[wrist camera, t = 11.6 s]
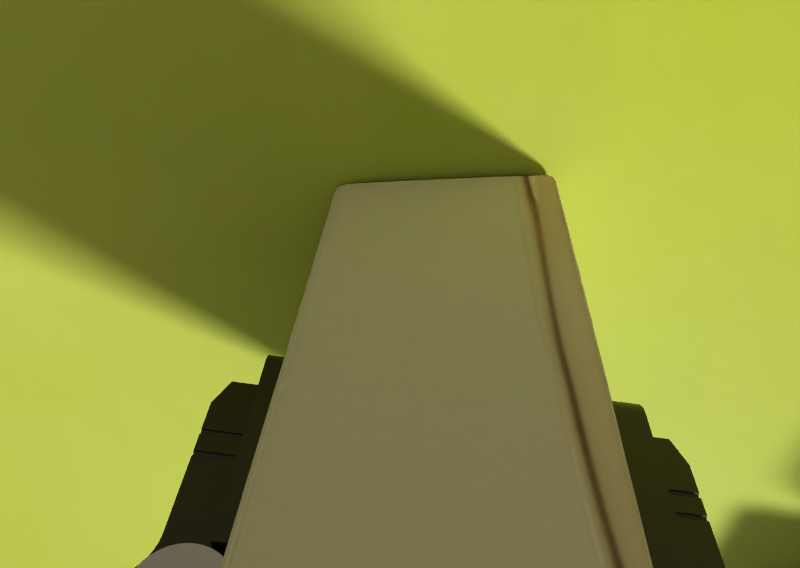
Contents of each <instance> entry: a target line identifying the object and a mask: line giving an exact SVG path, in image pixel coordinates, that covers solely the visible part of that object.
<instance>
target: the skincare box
mask: <svg viewBox="0 0 800 568" xmlns="http://www.w3.org/2000/svg"><path fill="white" fill-rule="evenodd" d="M220 568H653V565H652V561H651V557H650V553H649V549H648V545H647V541H646V537H645V533H644V529H643V525H642V521H641V517H640V513H639V509H638V505H637V501H636V497H635V493H634V489H633V485H632V481H631V477H630V473H629V469H628V465H627V461H626V457H625V453H624V449H623V445H622V441H621V437H620V433H619V429H618V424H617V420H616V416H615V412H614V408H613V404H612V400H611V396H610V392H609V388H608V384H607V380H606V376H605V372H604V368H603V364H602V360H601V356H600V352H599V349H598V345H597V341H596V337H595V333H594V329H593V324H592V320H591V316H590V312H589V308H588V305H587V301H586V297H585V292H584V289H583V285H582V282H581V277H580V272H579V269H578V265H577V262H576V258H575V254H574V250H573V246H572V242H571V238H570V234H569V230H568V227H567V223H566V219H565V215H564V211H563V208H562V204H561V200H560V196H559V193H558V189H557V185H556V181H555V180H554V178H553V177H551V176H549V175H536V176H505V177H479V178H456V179H434V180H411V181H392V182H373V183H354V184H345V185H342V186H339V187H338V188H337V190H336V191H335V193H334V196H333V198H332V202H331V206H330V209H329V212H328V216H327V219H326V222H325V226H324V229H323V232H322V236H321V239H320V242H319V245H318V249H317V252H316V255H315V259H314V262H313V265H312V269H311V272H310V275H309V278H308V282H307V285H306V288H305V292H304V295H303V298H302V301H301V305H300V308H299V311H298V314H297V317H296V320H295V324H294V327H293V330H292V334H291V337H290V340H289V343H288V347H287V350H286V353H285V357H284V360H283V363H282V367H281V370H280V373H279V376H278V380H277V383H276V386H275V389H274V393H273V396H272V399H271V402H270V406H269V409H268V412H267V415H266V419H265V422H264V425H263V429H262V432H261V435H260V438H259V442H258V445H257V448H256V452H255V455H254V458H253V461H252V465H251V468H250V471H249V475H248V478H247V481H246V484H245V488H244V491H243V494H242V498H241V501H240V504H239V508H238V511H237V514H236V518H235V521H234V524H233V528H232V531H231V534H230V538H229V541H228V544H227V547H226V551H225V554H224V557H223V561H222V564H221V567H220Z"/></svg>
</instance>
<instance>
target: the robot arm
mask: <svg viewBox="0 0 800 568" xmlns="http://www.w3.org/2000/svg"><path fill="white" fill-rule="evenodd" d="M283 360H284V357H280V356H272V355H268V357H267V359H266V361H265V364H264V368H263V371H262V374H261V378H260V381H259V384H258V385H254V384H246V383H238V382H231V383H230V384H229V385H228V386H227V387H226V388H225V389H224V390H223V391H222V392H221V393H220V394H219V395H218V396H217V397H216V398H215V399H214V400H213V401H212V402H211V405H210V407H209V410H208V413H207V415H206V418H205V421H204V424H203V426H202V431H201V434H199V437H198V440H197V443H196V445H195V448H194V453H193V455H192V456H191V459H190V462H189V464H188V467H187V470H186V473H185V475H184V478H183V481H182V483H181V486H180V489H179V492H178V494H177V497H176V500H175V502H174V505H173V508H172V511H171V513H170V516H169V519H168V521H167V524H166V527H165V530H164V532H163V535H162V537H161V539H160V541H159V543H158V544H157V546H156V547H155V549H154V550H153V551H152V553H151V554H150V555H149V556H148V557H147V558H146V559H144V560H143V561H142V562H141V563H140V564H139V565H138V566H137V567H135V568H220V567H221V564H222V561H223V557H224V554H225V551H226V547H227V544H228V541H229V538H230V534H231V531H232V528H233V524H234V521H235V518H236V514H237V511H238V508H239V504H240V501H241V498H242V494H243V491H244V488H245V484H246V481H247V478H248V475H249V471H250V468H251V465H252V461H253V458H254V455H255V452H256V448H257V445H258V442H259V438H260V435H261V432H262V429H263V425H264V422H265V419H266V415H267V412H268V409H269V406H270V402H271V399H272V396H273V393H274V389H275V386H276V383H277V380H278V376H279V373H280V370H281V367H282V363H283ZM612 404H613V408H614V412H615V416H616V420H617V424H618V429H619V433H620V437H621V441H622V445H623V449H624V453H625V457H626V461H627V465H628V469H629V473H630V477H631V481H632V485H633V489H634V493H635V497H636V501H637V505H638V509H639V513H640V517H641V521H642V525H643V529H644V533H645V537H646V541H647V545H648V549H649V553H650V557H651V561H652V565H653V568H725V566H724V563H723V560H722V557H721V554H720V551H719V549H718V546H717V543H716V540H715V537H714V534H713V531H712V528H711V526H710V523H709V521H707V520H706V517H707V514H706V511H705V508H704V506H703V503H702V500H701V498H699V496H698V495H699V491H698V488H697V486H696V483H695V480H694V477H693V474H692V471H691V468H690V465H689V464H688V463H687V461H686V460H685V459H684V458H683V456H682V455H681V454H680V453H679V451H678V450H677V449H676V448H675V446H674V445H673V444H672V443H671V441H670V440H669V439H663V438H655V437H653V436H652V433H651V429H650V426H649V423H648V420H647V417H646V413H645V411H644V409H643V407H642V406H641V405H639V404H631V403H624V402H616V401H612Z"/></svg>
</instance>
